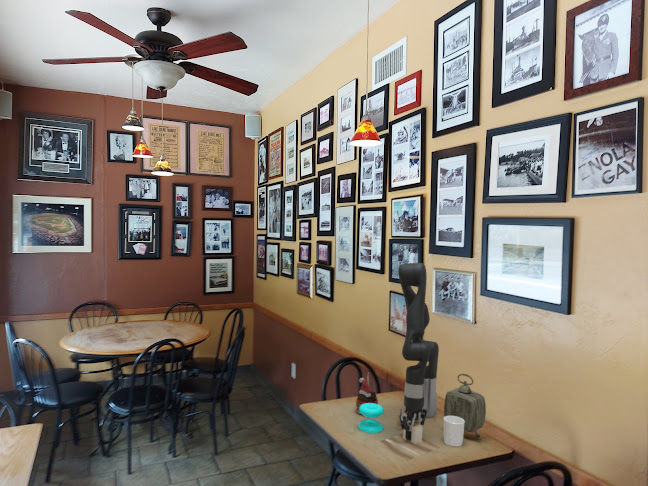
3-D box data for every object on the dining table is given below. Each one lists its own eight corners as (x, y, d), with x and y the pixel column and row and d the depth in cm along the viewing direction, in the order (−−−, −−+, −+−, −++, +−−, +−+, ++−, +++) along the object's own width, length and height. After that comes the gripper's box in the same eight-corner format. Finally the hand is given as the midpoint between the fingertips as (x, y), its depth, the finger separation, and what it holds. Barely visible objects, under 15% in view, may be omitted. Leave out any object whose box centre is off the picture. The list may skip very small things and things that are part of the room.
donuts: (360, 400, 186) (384, 403, 184) (359, 424, 186) (383, 427, 184) (357, 409, 176) (382, 412, 174) (356, 434, 176) (381, 437, 174)
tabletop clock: (484, 439, 177) (487, 376, 177) (473, 445, 171) (476, 381, 171) (452, 427, 187) (454, 368, 187) (440, 432, 181) (443, 372, 181)
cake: (382, 415, 197) (383, 374, 197) (365, 418, 192) (367, 377, 192) (367, 407, 206) (368, 368, 206) (351, 410, 201) (353, 371, 201)
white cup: (460, 452, 164) (461, 425, 164) (439, 446, 169) (440, 420, 169) (465, 444, 171) (467, 418, 171) (445, 439, 175) (446, 414, 175)
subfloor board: (407, 434, 178) (407, 431, 178) (439, 450, 165) (440, 447, 165) (375, 445, 167) (375, 442, 167) (407, 463, 154) (407, 460, 154)
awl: (399, 429, 183) (400, 407, 183) (404, 431, 180) (405, 409, 180) (395, 430, 181) (396, 409, 181) (400, 433, 179) (401, 411, 179)
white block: (409, 435, 174) (410, 419, 174) (421, 441, 169) (422, 424, 169) (402, 438, 172) (403, 421, 172) (414, 444, 167) (415, 426, 167)
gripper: (418, 388, 178) (416, 430, 178) (394, 394, 169) (392, 439, 169) (433, 393, 172) (431, 437, 172) (409, 400, 163) (407, 446, 163)
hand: (412, 438), depth 170 cm, fingers closed on white block, 4 cm apart
